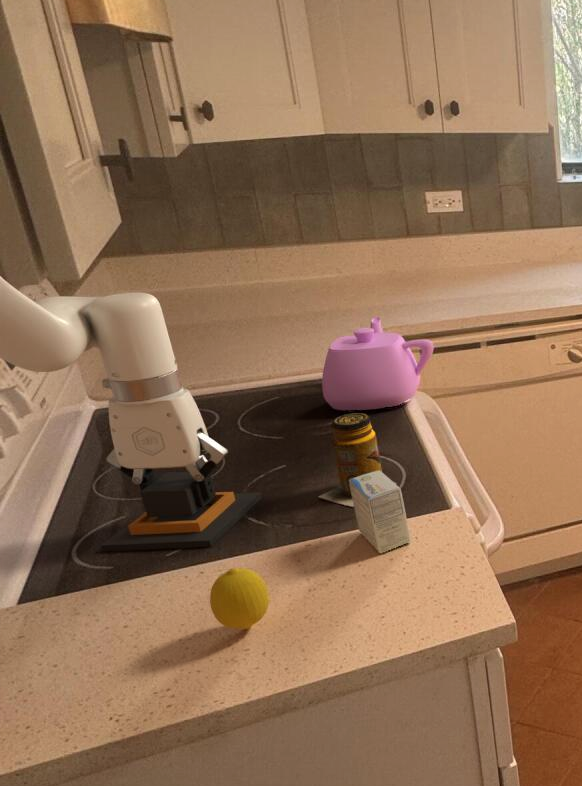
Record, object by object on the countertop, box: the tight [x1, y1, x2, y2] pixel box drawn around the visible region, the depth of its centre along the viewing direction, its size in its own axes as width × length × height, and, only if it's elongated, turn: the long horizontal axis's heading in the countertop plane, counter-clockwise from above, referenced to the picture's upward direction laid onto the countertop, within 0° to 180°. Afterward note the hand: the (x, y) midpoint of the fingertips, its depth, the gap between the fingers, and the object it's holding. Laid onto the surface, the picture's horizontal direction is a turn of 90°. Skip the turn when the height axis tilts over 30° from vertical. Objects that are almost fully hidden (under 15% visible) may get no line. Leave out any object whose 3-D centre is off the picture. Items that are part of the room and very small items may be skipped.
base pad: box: [100, 491, 262, 552], centre depth 112 cm, size 14×14×2 cm
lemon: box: [209, 567, 270, 630], centre depth 89 cm, size 6×6×8 cm
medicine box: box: [349, 471, 412, 554], centre depth 107 cm, size 8×4×9 cm, turn 43°
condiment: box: [317, 412, 397, 508], centre depth 120 cm, size 7×8×12 cm
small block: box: [139, 471, 216, 517], centre depth 111 cm, size 6×6×4 cm
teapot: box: [321, 316, 435, 411], centre depth 159 cm, size 23×21×15 cm
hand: (181, 502), depth 112 cm, fingers closed on small block, 6 cm apart
